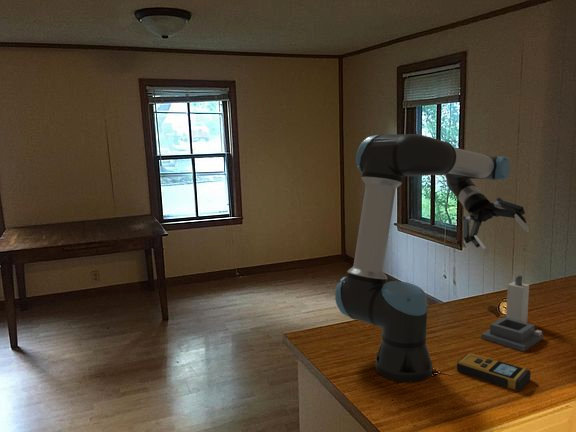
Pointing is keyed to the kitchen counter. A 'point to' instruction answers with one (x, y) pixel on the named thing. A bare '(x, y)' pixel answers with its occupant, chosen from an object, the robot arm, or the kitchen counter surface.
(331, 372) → the kitchen counter surface
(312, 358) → the kitchen counter surface
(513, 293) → the plug
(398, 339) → the robot arm
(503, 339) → the socket
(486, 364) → the electronic device
